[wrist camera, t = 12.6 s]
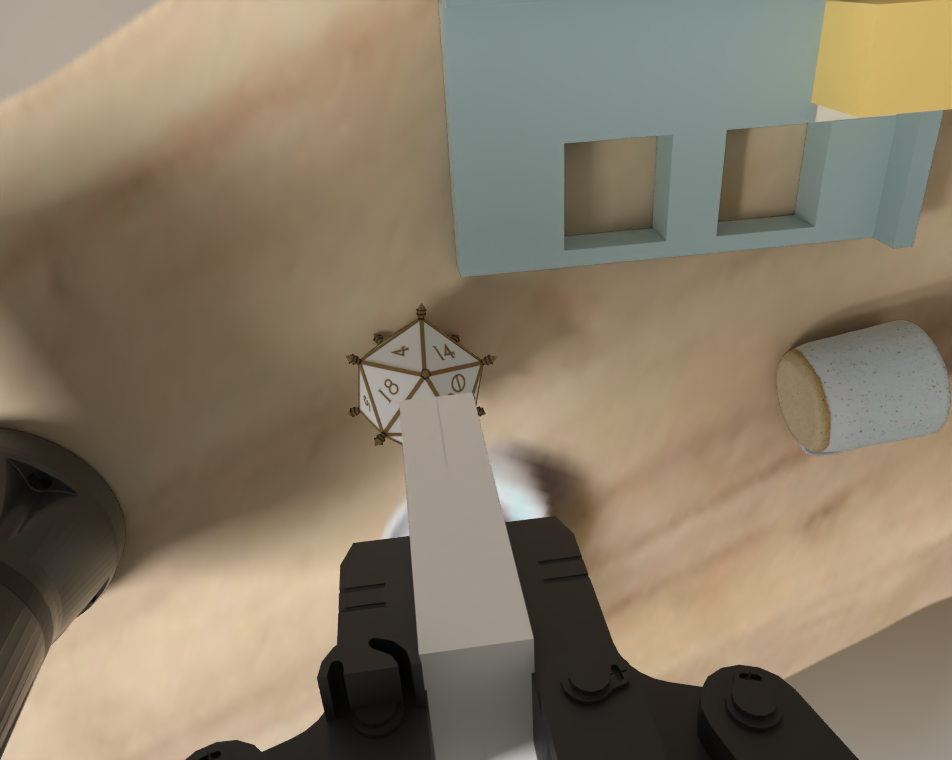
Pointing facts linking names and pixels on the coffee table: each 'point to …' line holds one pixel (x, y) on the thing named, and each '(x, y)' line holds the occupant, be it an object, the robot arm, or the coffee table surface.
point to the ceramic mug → (863, 388)
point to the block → (885, 57)
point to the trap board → (657, 127)
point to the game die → (413, 373)
